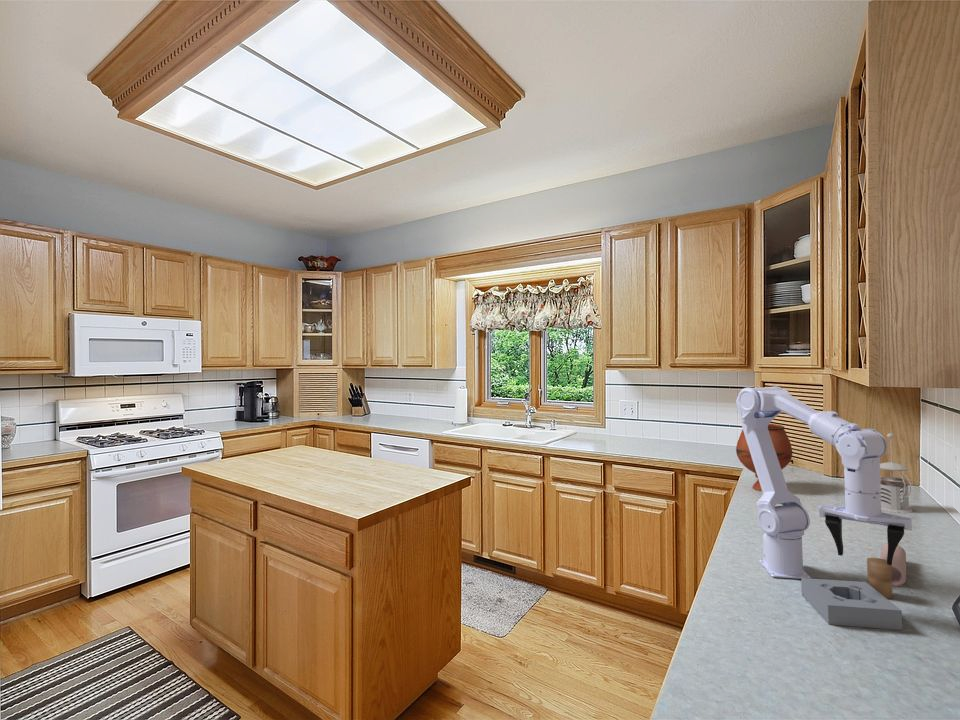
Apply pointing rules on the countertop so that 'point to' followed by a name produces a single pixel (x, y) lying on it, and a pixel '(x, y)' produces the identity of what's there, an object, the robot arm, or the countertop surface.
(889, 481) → the french press
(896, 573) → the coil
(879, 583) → the walnut pin
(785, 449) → the goblet
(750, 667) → the countertop surface
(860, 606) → the bore block
